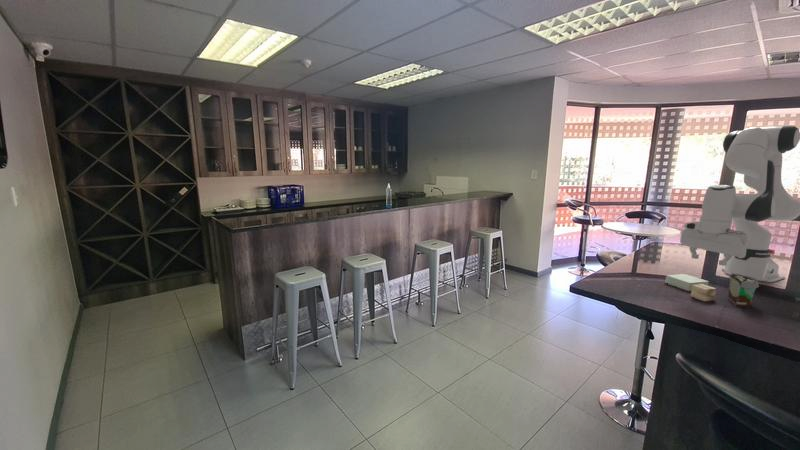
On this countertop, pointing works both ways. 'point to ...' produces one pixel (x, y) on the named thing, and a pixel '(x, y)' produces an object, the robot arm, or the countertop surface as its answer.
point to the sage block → (684, 281)
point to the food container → (742, 289)
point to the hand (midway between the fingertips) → (708, 261)
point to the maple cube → (703, 292)
